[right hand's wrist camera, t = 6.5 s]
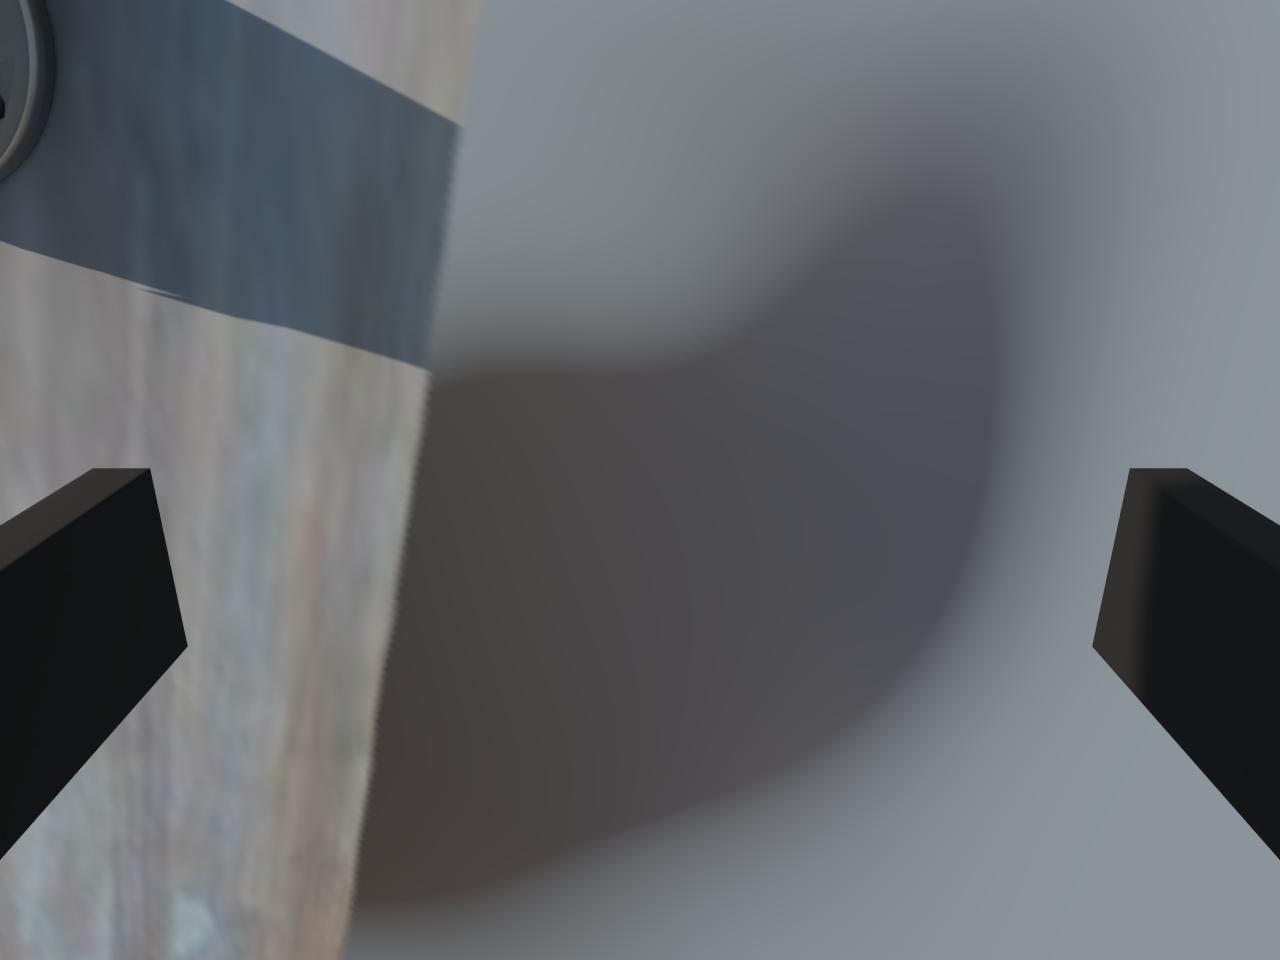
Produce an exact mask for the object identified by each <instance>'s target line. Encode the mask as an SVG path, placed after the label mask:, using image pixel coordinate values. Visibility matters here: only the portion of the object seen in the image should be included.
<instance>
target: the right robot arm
mask: <svg viewBox="0 0 1280 960" xmlns="http://www.w3.org/2000/svg"><path fill="white" fill-rule="evenodd" d="M54 75H55V61H54V46H53V39H52V32H51V27H50V23H49V18H48V14H47V10H46V7H45V4H44V1H43V0H0V182H1V181H2V180H4V179H5V178H7V177H8V176H9V175H10V174H11V173H12V172H13V171H15V170H16V169H17V168H18V167H19V166H20V164H21V163H22V162H23V161H24V160H25V159H26V158H27V156H28V155H29V153H30V152H31V150H32V149H33V147H34V146H35V144H36V142H37V140H38V138H39V137H40V135H41V133H42V130H43V128H44V125H45V123H46V120H47V117H48V113H49V110H50V106H51V102H52V95H53V89H54ZM187 647H188V646H187V641H186V636H185V631H184V627H183V622H182V617H181V612H180V608H179V603H178V598H177V594H176V589H175V584H174V579H173V575H172V570H171V565H170V560H169V556H168V551H167V546H166V542H165V537H164V532H163V527H162V523H161V518H160V513H159V508H158V504H157V499H156V494H155V489H154V485H153V480H152V475H151V471H150V468H93V469H91V470H90V471H88V472H86V473H85V474H83V475H81V476H80V477H78V478H77V479H75V480H73V481H72V482H70V483H68V484H67V485H65V486H64V487H62V488H60V489H59V490H57V491H55V492H54V493H52V494H51V495H49V496H47V497H46V498H44V499H42V500H41V501H39V502H38V503H36V504H34V505H33V506H31V507H29V508H28V509H26V510H25V511H23V512H21V513H20V514H18V515H16V516H15V517H13V518H12V519H10V520H8V521H7V522H5V523H3V524H2V525H0V860H1V858H2V857H3V856H4V855H5V854H6V853H7V852H8V850H9V849H10V848H11V847H12V846H13V845H14V844H15V842H16V841H17V840H18V839H19V838H20V837H21V836H22V834H23V833H24V832H25V831H26V830H27V829H28V828H29V827H30V825H31V824H32V823H33V822H34V821H35V820H36V819H37V817H38V816H39V815H40V814H41V813H42V812H43V811H44V809H45V808H46V807H47V806H48V805H49V804H50V803H51V801H52V800H53V799H54V798H55V797H56V796H57V795H58V794H59V792H60V791H61V790H62V789H63V788H64V787H65V786H66V784H67V783H68V782H69V781H70V780H71V779H72V778H73V776H74V775H75V774H76V773H77V772H78V771H79V770H80V768H81V767H82V766H83V765H84V764H85V763H86V762H87V760H88V759H89V758H90V757H91V756H92V755H93V754H94V753H95V751H96V750H97V749H98V748H99V747H100V746H101V745H102V743H103V742H104V741H105V740H106V739H107V738H108V737H109V735H110V734H111V733H112V732H113V731H114V730H115V729H116V727H117V726H118V725H119V724H120V723H121V722H122V721H123V720H124V718H125V717H126V716H127V715H128V714H129V713H130V712H131V710H132V709H133V708H134V707H135V706H136V705H137V704H138V702H139V701H140V700H141V699H142V698H143V697H144V696H145V694H146V693H147V692H148V691H149V690H150V689H151V688H152V686H153V685H154V684H155V683H156V682H157V681H158V680H159V679H160V677H161V676H162V675H163V674H164V673H165V672H166V671H167V669H168V668H169V667H170V666H171V665H172V664H173V663H174V661H175V660H176V659H177V658H178V657H179V656H180V655H181V653H182V652H183V651H184V650H185V649H186V648H187ZM1093 648H1094V649H1095V650H1096V651H1097V652H1098V653H1099V655H1100V656H1101V657H1102V658H1103V659H1104V660H1105V661H1106V663H1107V664H1108V665H1109V666H1110V667H1111V668H1112V669H1113V671H1114V672H1115V673H1116V674H1117V675H1118V676H1119V677H1120V678H1121V680H1122V681H1123V682H1124V683H1125V684H1126V685H1127V686H1128V688H1129V689H1130V690H1131V691H1132V692H1133V693H1134V694H1135V696H1136V697H1137V698H1138V699H1139V700H1140V701H1141V702H1142V704H1143V705H1144V706H1145V707H1146V708H1147V709H1148V710H1149V712H1150V713H1151V714H1152V715H1153V716H1154V717H1155V718H1156V719H1157V721H1158V722H1159V723H1160V724H1161V725H1162V726H1163V727H1164V729H1165V730H1166V731H1167V732H1168V733H1169V734H1170V735H1171V737H1172V738H1173V739H1174V740H1175V741H1176V742H1177V743H1178V744H1179V746H1180V747H1181V748H1182V749H1183V750H1184V751H1185V753H1186V754H1187V755H1188V756H1189V757H1190V758H1191V759H1192V760H1193V762H1194V763H1195V764H1196V765H1197V766H1198V767H1199V768H1200V770H1201V771H1202V772H1203V773H1204V774H1205V775H1206V776H1207V778H1208V779H1209V780H1210V781H1211V782H1212V783H1213V784H1214V785H1215V787H1216V788H1217V789H1218V790H1219V791H1220V792H1221V794H1222V795H1223V796H1224V797H1225V798H1226V799H1227V800H1228V801H1229V803H1230V804H1231V805H1232V806H1233V807H1234V808H1235V809H1236V811H1237V812H1238V813H1239V814H1240V815H1241V816H1242V817H1243V819H1244V820H1245V821H1246V822H1247V823H1248V824H1249V825H1250V826H1251V828H1252V829H1253V830H1254V831H1255V832H1256V833H1257V834H1258V836H1259V837H1260V838H1261V839H1262V840H1263V841H1264V842H1265V844H1266V845H1267V846H1268V847H1269V848H1270V849H1271V850H1272V852H1273V853H1274V854H1275V855H1276V856H1277V857H1278V858H1279V860H1280V525H1278V524H1276V523H1275V522H1273V521H1272V520H1270V519H1268V518H1267V517H1265V516H1264V515H1262V514H1260V513H1259V512H1257V511H1255V510H1254V509H1252V508H1251V507H1249V506H1247V505H1246V504H1244V503H1242V502H1241V501H1239V500H1238V499H1236V498H1234V497H1233V496H1231V495H1229V494H1228V493H1226V492H1225V491H1223V490H1221V489H1220V488H1218V487H1216V486H1215V485H1213V484H1212V483H1210V482H1208V481H1207V480H1205V479H1203V478H1202V477H1200V476H1198V475H1197V474H1195V473H1194V472H1192V471H1190V470H1189V469H1187V468H1130V471H1129V475H1128V480H1127V485H1126V490H1125V494H1124V499H1123V504H1122V508H1121V513H1120V518H1119V523H1118V528H1117V532H1116V537H1115V542H1114V547H1113V551H1112V556H1111V560H1110V565H1109V570H1108V575H1107V579H1106V584H1105V589H1104V594H1103V598H1102V603H1101V608H1100V613H1099V617H1098V622H1097V627H1096V631H1095V636H1094V641H1093Z"/></svg>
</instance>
